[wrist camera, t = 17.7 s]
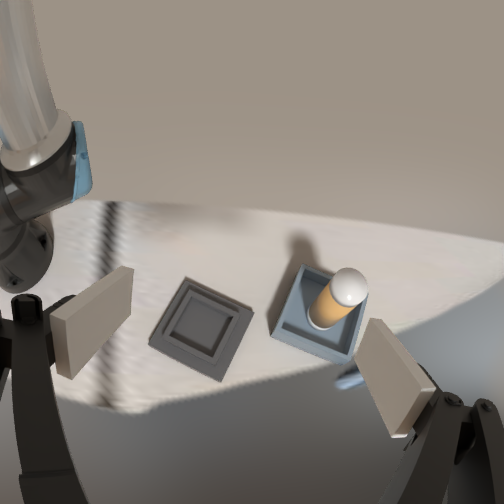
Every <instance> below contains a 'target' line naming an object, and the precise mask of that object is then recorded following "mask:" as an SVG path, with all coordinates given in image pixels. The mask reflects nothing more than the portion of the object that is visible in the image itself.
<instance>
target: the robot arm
mask: <svg viewBox="0 0 504 504" xmlns="http://www.w3.org/2000/svg"><path fill="white" fill-rule="evenodd" d="M0 138H1V140H2V142H3V144H2V147H1V150H0V287H1V288H2V289H3V290H5V291H6V292H9V293H21V292H24V291H27V290H28V289H30V288H32V287H33V286H34V285H35V284H37V283H38V282H39V280H40V279H41V278H42V277H43V275H44V274H45V272H46V271H47V269H48V267H49V264H50V262H51V258H52V253H53V244H52V239H51V237H50V235H49V233H48V232H47V230H46V229H45V227H44V226H43V225H42V224H40V223H39V222H37V221H36V220H34V218H36V217H39V216H41V215H43V214H45V213H48V212H50V211H52V210H55V209H57V208H59V207H62V206H64V205H67V204H69V203H73V202H74V201H75V200H76V199H78V198H80V197H82V196H85V195H86V194H88V193H89V192H90V190H91V188H92V176H91V169H90V163H89V158H88V152H87V145H86V139H85V133H84V127H83V123H82V122H81V121H73V122H71V119H70V116H69V115H68V113H66V112H65V111H62V110H59V109H56V106H55V103H54V100H53V96H52V93H51V89H50V86H49V82H48V78H47V74H46V71H45V66H44V62H43V58H42V54H41V49H40V44H39V40H38V34H37V29H36V23H35V17H34V10H33V4H32V0H0ZM133 274H134V269H132V268H128V267H124V266H120V267H119V268H117V269H116V270H114V271H113V272H111V273H110V274H108V275H107V276H105V277H103V278H102V279H100V280H99V281H97V282H96V283H94V284H93V285H91V286H90V287H88V288H87V289H85V290H84V291H82V292H81V293H79V294H78V295H70V296H66V297H64V298H62V299H61V300H59V301H58V302H56V303H55V304H53V306H50V307H49V308H47V309H46V310H44V311H43V310H42V300H41V298H40V297H38V296H37V295H33V294H20V295H17V296H15V297H14V298H12V300H11V306H12V314H13V321H12V320H8V319H3V318H2V316H1V310H0V400H1V397H2V393H3V390H4V386H5V383H6V380H7V377H8V374H9V371H10V369H11V372H12V400H13V413H14V423H15V432H16V439H17V446H18V452H19V457H20V463H21V467H22V474H20V475H19V483H20V488H21V492H22V496H23V500H24V503H25V504H90V502H89V500H88V497H87V495H86V493H85V490H84V488H83V485H82V483H81V480H80V478H79V475H78V472H77V470H76V467H75V464H74V461H73V458H72V455H71V452H70V449H69V446H68V443H67V439H66V436H65V433H64V429H63V425H62V421H61V418H60V414H59V409H58V406H57V401H56V396H55V391H54V386H53V381H52V376H51V370H50V367H51V366H52V365H53V364H54V363H55V364H56V370H57V374H60V375H62V376H64V377H66V378H68V379H71V380H72V379H73V378H74V377H75V376H76V375H77V374H78V372H79V371H80V370H81V369H82V368H83V367H84V366H85V364H86V363H87V362H88V361H89V360H90V359H91V358H92V356H93V355H94V354H95V353H96V352H97V351H98V350H99V349H100V347H101V346H102V345H103V344H104V343H105V342H106V341H107V340H108V339H109V337H110V336H111V335H112V334H113V333H114V332H115V331H116V330H117V329H118V328H119V327H120V325H121V324H122V323H123V322H124V321H125V320H126V319H127V318H128V317H129V316H130V315H131V299H132V285H133ZM354 360H355V362H356V364H357V366H358V368H359V370H360V372H361V374H362V376H363V378H364V380H365V382H366V385H367V387H368V389H369V391H370V392H371V395H372V397H373V399H374V401H375V403H376V405H377V407H378V410H379V412H380V414H381V416H382V418H383V420H384V422H385V425H386V427H387V429H388V431H389V433H390V436H391V438H399V437H406V436H407V434H408V433H409V431H410V430H411V428H412V427H413V428H414V430H415V432H416V433H415V434H414V436H413V437H412V439H411V440H410V441H409V443H408V444H407V446H406V447H405V448H404V451H406V452H405V454H404V456H403V458H402V460H401V462H400V464H399V466H398V468H397V470H396V472H395V474H394V476H393V477H392V479H391V481H390V483H389V485H388V486H387V488H386V490H385V492H384V493H383V495H382V497H381V499H380V500H379V502H378V504H442V501H443V498H444V495H445V492H446V488H447V485H448V504H504V428H503V425H502V422H501V419H500V416H499V413H498V410H497V408H496V406H495V405H494V404H493V402H491V401H489V400H486V399H481V398H480V399H478V400H477V401H476V402H475V404H474V405H473V407H468V406H464V403H463V401H462V400H461V399H460V398H459V397H458V396H457V395H454V394H452V393H450V392H442V390H441V389H440V388H439V387H438V385H437V384H436V383H435V381H434V380H432V377H431V376H430V375H428V372H427V371H426V370H425V369H424V368H423V367H422V366H421V365H420V364H418V363H417V362H416V361H415V360H414V359H413V357H412V356H411V355H410V354H409V352H408V351H407V350H406V349H405V347H404V346H403V345H402V344H401V342H400V341H399V340H398V339H397V338H396V336H395V335H394V334H393V333H392V331H391V330H390V329H389V328H388V327H387V325H386V324H385V323H384V322H383V321H382V320H381V319H375V318H370V320H369V322H368V325H367V328H366V330H365V333H364V335H363V338H362V341H361V343H360V346H359V348H358V351H357V353H356V355H355V358H354Z"/></svg>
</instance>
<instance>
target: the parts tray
mask: <svg viewBox="0 0 504 504" xmlns="http://www.w3.org/2000/svg"><path fill="white" fill-rule="evenodd" d="M332 278H333V277H332V276H330V275H328V274H325V273H323V272H321V271H319V270H316V269H314V268H312V267H310V266H307V265H305V264H303V263H302V265H301V267H300V269H299V270H298V272H297V274H296V277H295V279H294V282H293V284H292V287H291V289H290V291H289V294H288V296H287V299H286V301H285V304H284V306H283V308H282V311H281V313H280V315H279V318H278V320H277V322H276V325H275V327H274V329H273V332H272V334H271V336H270V337H272V338H275V339H277V340H279V341H282V342H284V343H286V344H289V345H291V346H294V347H296V348H298V349H301V350H303V351H306V352H308V353H310V354H313V355H315V356H318V357H320V358H323V359H325V360H328V361H330V362H333V363H336V364H338V365H343V364H345V363H347V362H350V360H351V357H352V354H353V350H354V347H355V343H356V340H357V336H358V333H359V329H360V325H361V322H362V318H363V314H364V310H365V306H366V302H367V298H368V294H367V296H366V298H365V299H364V300H363V301H362V302H361V303H359V304H358V305H357V306H356V307H355V308H354V309H353V310H351V311H350V312H349V313H348V314H347V315H346V316H344V317H343V318H342V319H341V320H340V321H339V322H337V323H336V324H335V325H334V326H333V327H331V328H330V329H329V330H327V331H317V330H315V329H313V328H312V327H311V326H310V325H309V324H308V322H307V319H306V312H307V309H308V308H309V306H310V305H311V304H312V303H313V301H314V300H315V299H316V298H317V297H318V295H319V294H320V293H321V292H322V290H323V289H324V288H325V287H326V285H327V284H328V283H329V282H330V280H331V279H332Z"/></svg>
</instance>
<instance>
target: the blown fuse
mask: <svg viewBox="0 0 504 504" xmlns="http://www.w3.org/2000/svg"><path fill="white" fill-rule="evenodd" d="M367 294H368V283H367V281H366V279H365V277H364V276H363V275H362V274H361V273H360V272H359V271H357V270H355V269H353V268H342V269H340V270H339V271H338V272H337V273H336V274H335V275H334V277H333V278H332V279H331V280H330V282H329V283H328V284H327V285H326V287H325V288H324V289H323V290H322V292H321V293H320V294H319V295H318V297H317V298H316V299H315V300H314V301H313V303H312V304H311V305H310V306H309V308H308V309H307V312H306V319H307V322H308V324H309V325H310V326H311V327H312V328H313V329H315V330H317V331H327V330H329V329H330V328H331V327H333V326H334V325H335V324H336V323H337V322H339V321H340V320H341V319H342V318H343V317H344V316H346V315H347V314H348V313H349V312H350V311H351V310H353V309H354V308H355V307H356V306H357V305H358V304H359V303H361V302H362V301H363V300H364V299H365V298H366V296H367Z"/></svg>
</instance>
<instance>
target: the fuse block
mask: <svg viewBox="0 0 504 504" xmlns="http://www.w3.org/2000/svg"><path fill="white" fill-rule="evenodd" d="M253 315H254V312H252V311H250V310H248V309H246V308H243V307H241V306H239V305H237V304H235V303H233V302H230V301H228V300H226V299H224V298H222V297H220V296H218V295H216V294H213V293H211V292H209V291H207V290H205V289H203V288H201V287H199V286H197V285H195V284H193V283H191V282H189V281H187V280H186V281H185V282H184V284H183V285H182V287H181V289H180V290H179V292H178V294H177V295H176V297H175V299H174V300H173V302H172V304H171V305H170V307H169V309H168V310H167V312H166V314H165V316H164V317H163V319H162V321H161V322H160V324H159V326H158V327H157V329H156V331H155V333H154V334H153V336H152V338H151V340H150V341H149V343H148V345H149V346H150V347H152V348H154V349H156V350H158V351H159V352H161V353H163V354H165V355H167V356H169V357H170V358H172V359H174V360H176V361H178V362H180V363H182V364H184V365H186V366H187V367H189V368H191V369H193V370H195V371H197V372H199V373H201V374H203V375H205V376H208V377H210V378H212V379H214V380H216V381H218V382H220V383H221V381H222V379H223V377H224V375H225V373H226V371H227V369H228V367H229V365H230V363H231V361H232V359H233V357H234V355H235V353H236V351H237V348H238V346H239V344H240V342H241V340H242V338H243V336H244V334H245V332H246V330H247V328H248V325H249V323H250V321H251V319H252V317H253Z"/></svg>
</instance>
